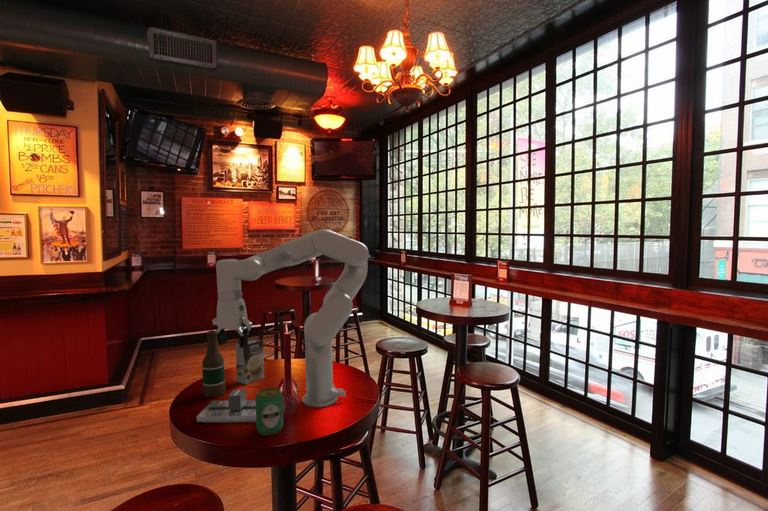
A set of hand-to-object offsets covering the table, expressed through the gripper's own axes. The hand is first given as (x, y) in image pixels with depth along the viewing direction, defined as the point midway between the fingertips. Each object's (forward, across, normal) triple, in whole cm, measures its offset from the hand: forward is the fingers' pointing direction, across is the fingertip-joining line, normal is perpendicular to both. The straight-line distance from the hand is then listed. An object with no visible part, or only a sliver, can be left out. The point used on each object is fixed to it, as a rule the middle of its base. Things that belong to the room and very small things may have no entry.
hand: (233, 345), depth 139 cm
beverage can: (+23, -20, +6) cm, 31 cm away
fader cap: (+20, -3, +3) cm, 20 cm away
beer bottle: (+22, +18, -6) cm, 29 cm away
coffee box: (+22, +16, -23) cm, 36 cm away
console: (+22, -4, +2) cm, 23 cm away
